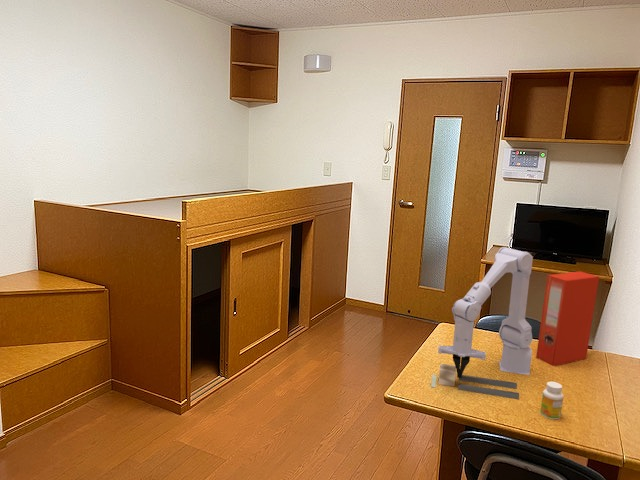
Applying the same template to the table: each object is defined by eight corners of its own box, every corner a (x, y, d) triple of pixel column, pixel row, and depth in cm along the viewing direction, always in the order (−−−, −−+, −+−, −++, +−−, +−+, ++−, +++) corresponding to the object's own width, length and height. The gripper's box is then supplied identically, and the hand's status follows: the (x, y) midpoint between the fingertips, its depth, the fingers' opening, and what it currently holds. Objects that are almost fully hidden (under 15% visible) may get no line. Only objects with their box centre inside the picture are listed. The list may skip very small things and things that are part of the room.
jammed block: (454, 379, 161) (455, 365, 160) (454, 386, 157) (455, 372, 156) (439, 377, 163) (440, 363, 162) (438, 384, 158) (439, 369, 157)
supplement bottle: (536, 410, 145) (540, 380, 143) (553, 410, 145) (558, 380, 143) (546, 420, 140) (550, 389, 138) (564, 420, 140) (568, 389, 138)
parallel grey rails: (515, 388, 158) (516, 382, 157) (518, 400, 150) (519, 394, 150) (458, 379, 162) (458, 374, 162) (458, 390, 155) (458, 384, 155)
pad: (456, 378, 163) (456, 378, 163) (456, 391, 155) (456, 390, 155) (432, 374, 165) (432, 374, 165) (430, 387, 157) (430, 386, 157)
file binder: (586, 359, 182) (599, 276, 176) (554, 366, 175) (566, 280, 169) (567, 350, 189) (579, 271, 183) (536, 357, 182) (546, 274, 176)
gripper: (439, 338, 154) (435, 378, 156) (487, 344, 150) (483, 385, 152) (440, 330, 160) (436, 369, 163) (486, 336, 156) (482, 375, 159)
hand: (459, 376), depth 158 cm, fingers closed
